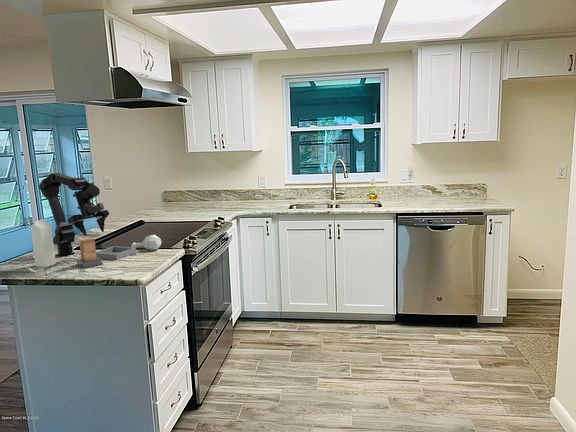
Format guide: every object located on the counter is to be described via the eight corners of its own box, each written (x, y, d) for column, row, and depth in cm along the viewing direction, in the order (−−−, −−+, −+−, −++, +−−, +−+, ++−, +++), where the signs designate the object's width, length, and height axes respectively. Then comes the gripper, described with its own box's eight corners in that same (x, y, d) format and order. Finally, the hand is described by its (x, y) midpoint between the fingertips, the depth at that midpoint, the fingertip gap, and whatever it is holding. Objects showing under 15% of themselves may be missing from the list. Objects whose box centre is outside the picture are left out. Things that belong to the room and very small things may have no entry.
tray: (93, 259, 211) (93, 252, 210) (113, 252, 224) (113, 246, 223) (117, 261, 206) (116, 254, 206) (136, 254, 219) (135, 247, 219)
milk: (35, 268, 199) (28, 221, 196) (46, 264, 205) (40, 218, 202) (45, 268, 198) (39, 221, 194) (56, 265, 203) (50, 219, 200)
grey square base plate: (74, 266, 199) (73, 259, 199) (96, 262, 206) (95, 255, 206) (82, 270, 192) (81, 263, 192) (104, 265, 199) (104, 259, 198)
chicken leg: (140, 247, 238) (132, 235, 234) (166, 243, 231) (158, 230, 227) (131, 257, 231) (123, 244, 227) (158, 252, 224) (150, 239, 220)
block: (82, 264, 199) (79, 239, 197) (93, 262, 202) (90, 237, 201) (85, 266, 196) (83, 240, 194) (97, 264, 199) (94, 239, 197)
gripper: (75, 200, 195) (85, 232, 195) (110, 195, 211) (120, 225, 210) (62, 207, 201) (72, 239, 201) (98, 202, 217) (107, 231, 216)
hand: (94, 233), depth 207 cm, fingers open, 9 cm apart
